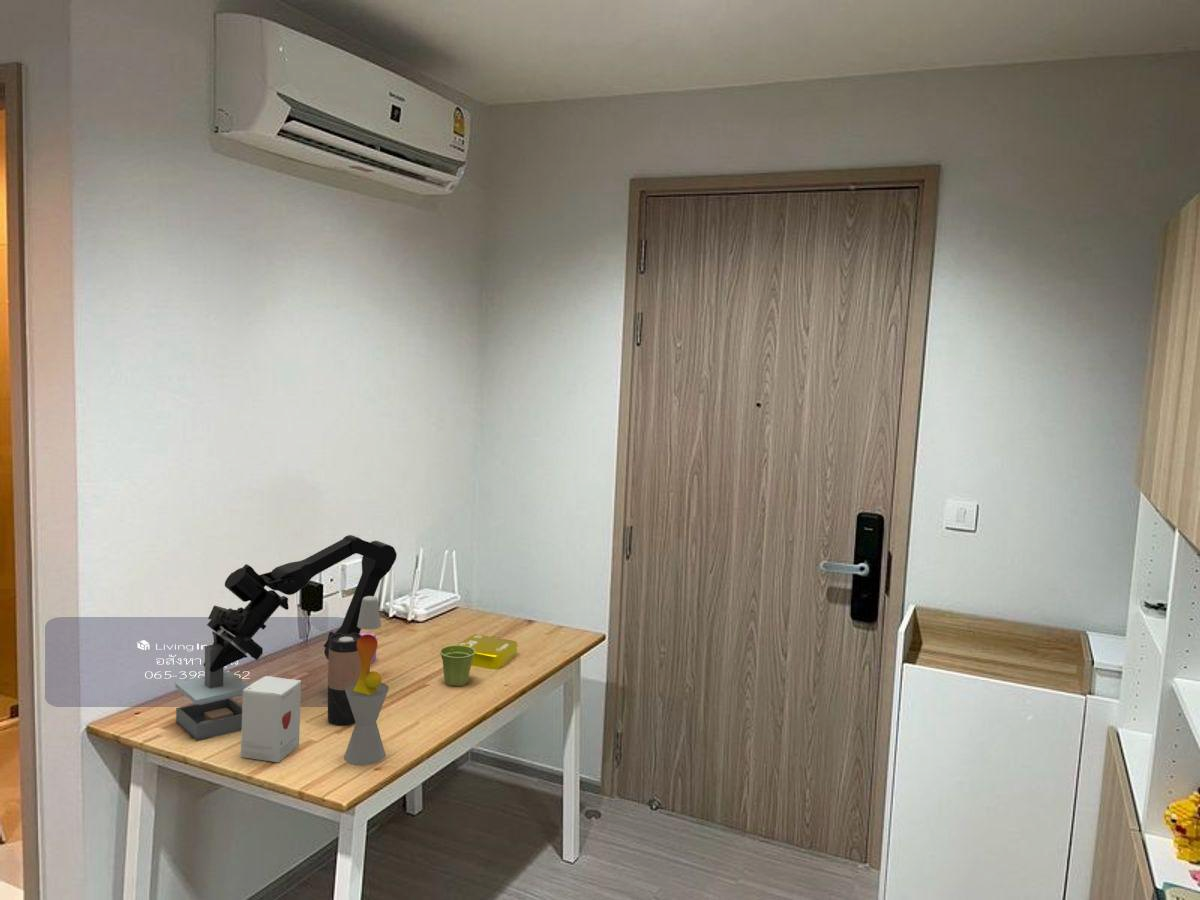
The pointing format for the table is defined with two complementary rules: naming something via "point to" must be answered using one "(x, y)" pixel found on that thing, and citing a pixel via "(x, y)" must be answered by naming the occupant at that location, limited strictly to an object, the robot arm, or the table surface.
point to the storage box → (210, 718)
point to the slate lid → (212, 682)
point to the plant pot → (457, 664)
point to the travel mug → (342, 676)
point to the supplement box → (270, 718)
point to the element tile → (491, 651)
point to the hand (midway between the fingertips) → (207, 668)
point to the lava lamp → (366, 693)
